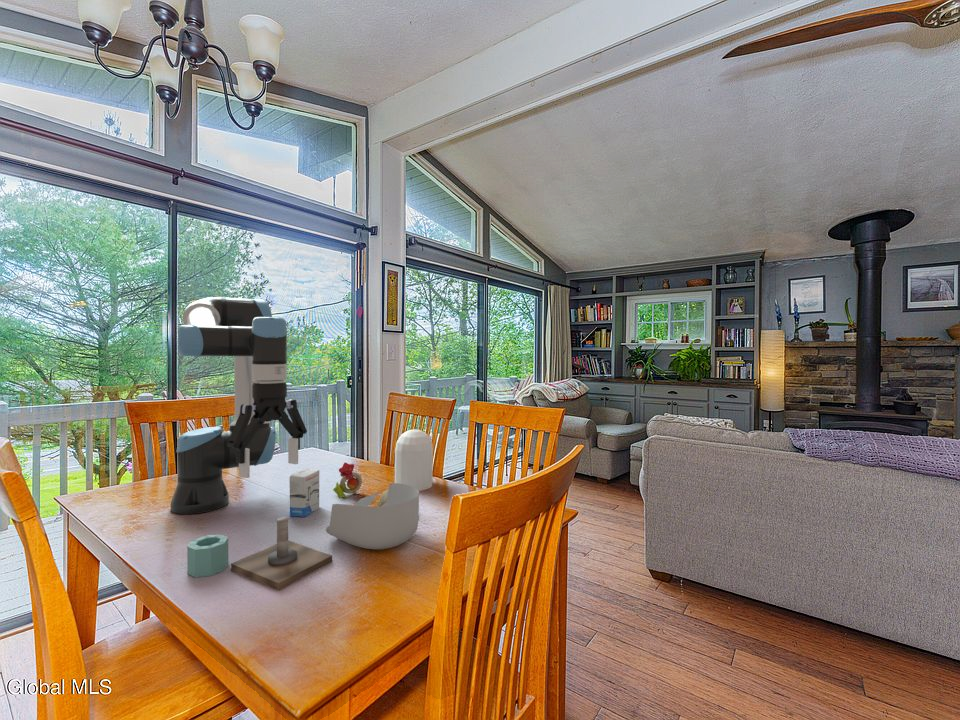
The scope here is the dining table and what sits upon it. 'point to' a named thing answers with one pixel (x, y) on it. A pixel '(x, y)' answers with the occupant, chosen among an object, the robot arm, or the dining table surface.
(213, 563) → the collar
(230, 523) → the dining table surface
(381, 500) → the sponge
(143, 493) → the dining table surface
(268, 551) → the shaft board
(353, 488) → the bird rattle
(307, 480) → the ink box
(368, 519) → the bowl
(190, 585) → the dining table surface
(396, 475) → the container
